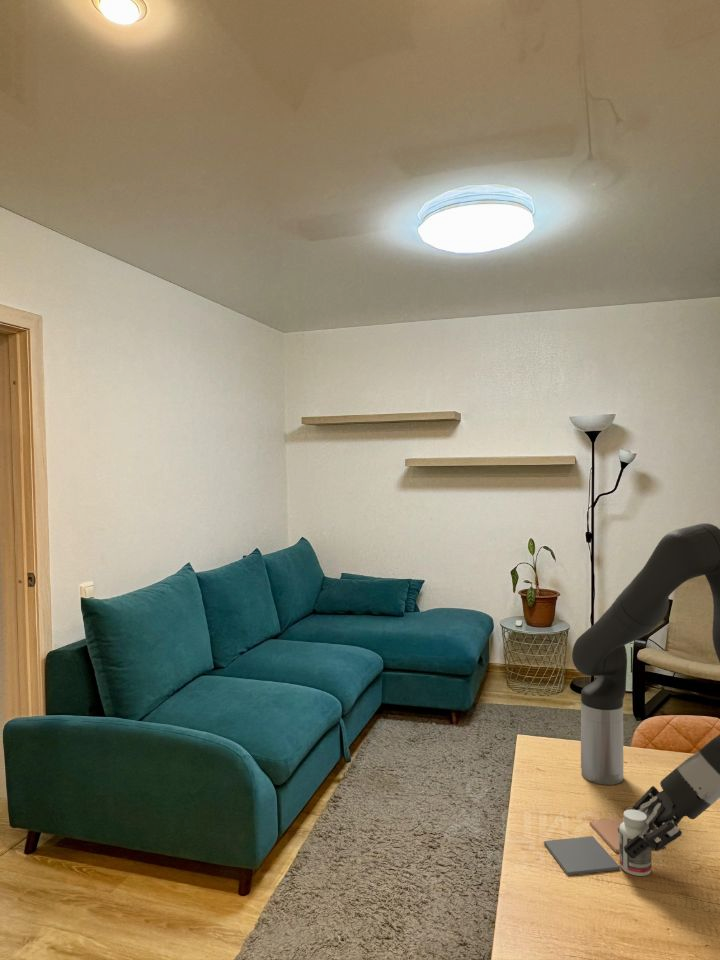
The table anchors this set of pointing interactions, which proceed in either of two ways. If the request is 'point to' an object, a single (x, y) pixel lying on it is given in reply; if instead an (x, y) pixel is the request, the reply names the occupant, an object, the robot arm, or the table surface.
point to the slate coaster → (581, 855)
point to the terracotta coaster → (609, 831)
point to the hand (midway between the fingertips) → (624, 844)
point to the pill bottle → (628, 832)
